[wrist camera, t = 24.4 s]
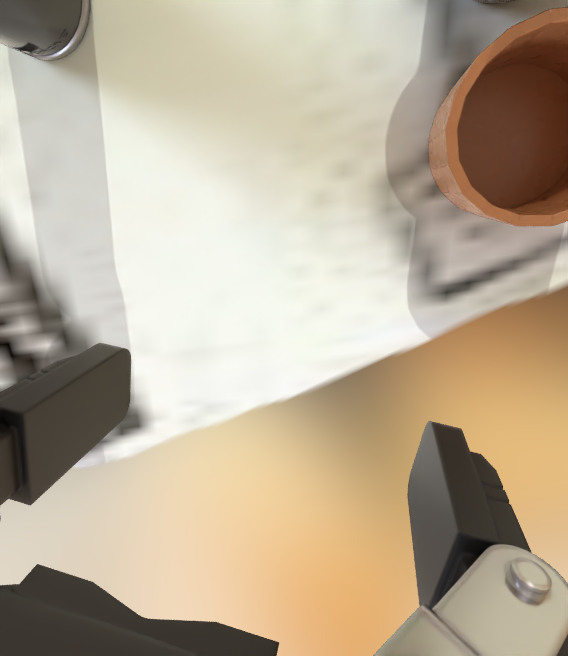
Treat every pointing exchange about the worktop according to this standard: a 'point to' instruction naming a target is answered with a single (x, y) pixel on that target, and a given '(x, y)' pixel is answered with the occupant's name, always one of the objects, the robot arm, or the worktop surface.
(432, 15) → the worktop surface
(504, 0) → the cup
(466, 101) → the clay pot
